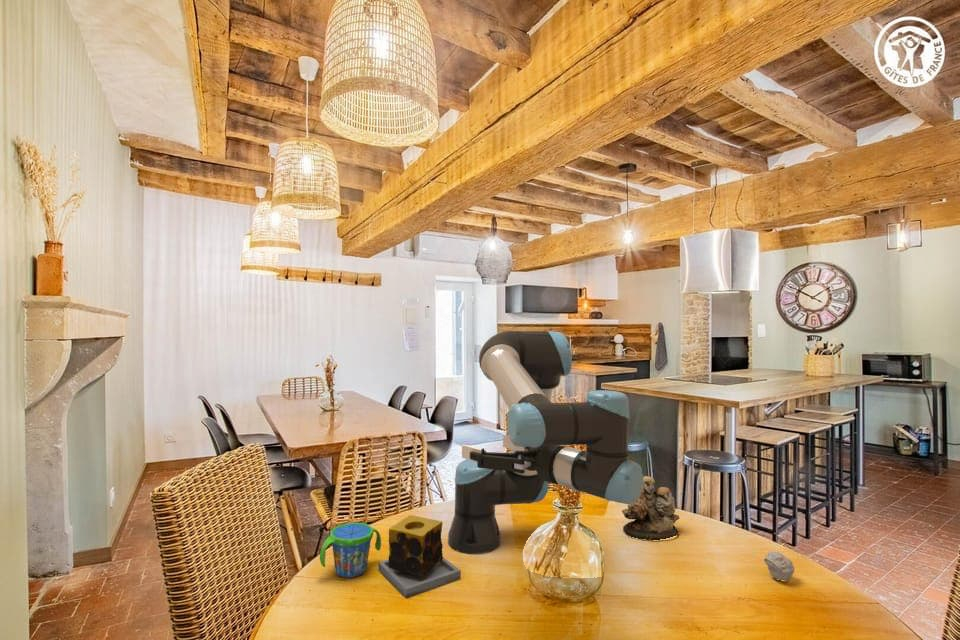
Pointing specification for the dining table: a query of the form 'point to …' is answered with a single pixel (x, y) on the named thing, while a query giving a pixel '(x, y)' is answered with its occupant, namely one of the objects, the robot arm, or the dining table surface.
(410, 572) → the candle
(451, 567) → the tray
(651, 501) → the owl figurine
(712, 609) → the dining table surface
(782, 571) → the grey rounded lump
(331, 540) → the snack cup
